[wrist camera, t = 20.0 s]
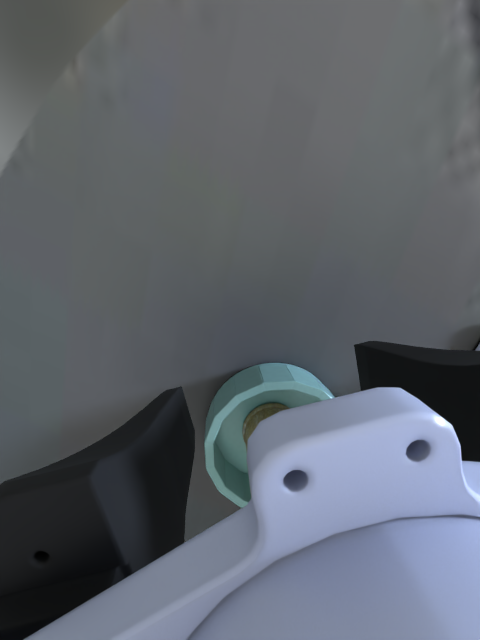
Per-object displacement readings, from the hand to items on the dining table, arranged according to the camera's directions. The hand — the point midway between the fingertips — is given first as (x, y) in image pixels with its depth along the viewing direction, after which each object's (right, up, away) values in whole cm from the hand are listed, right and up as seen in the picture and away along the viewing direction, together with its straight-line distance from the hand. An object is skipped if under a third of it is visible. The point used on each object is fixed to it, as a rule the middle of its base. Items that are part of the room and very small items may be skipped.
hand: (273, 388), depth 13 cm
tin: (+1, -5, +12) cm, 13 cm away
